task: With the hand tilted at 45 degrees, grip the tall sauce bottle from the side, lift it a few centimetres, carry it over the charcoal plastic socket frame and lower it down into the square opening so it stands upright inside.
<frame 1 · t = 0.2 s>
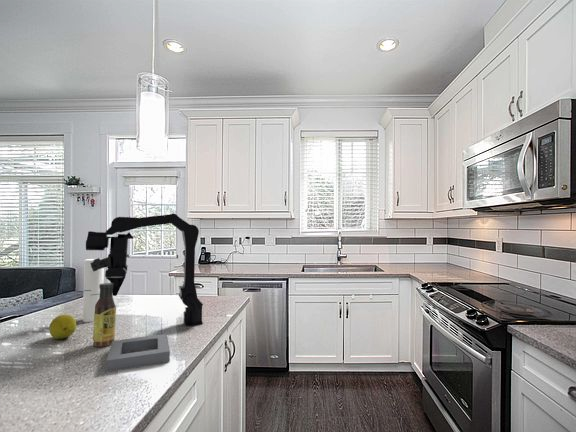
hand: (115, 293, 116), 14 cm above the worktop, tool pointing down, fingers open, 9 cm apart
cylindrical container: (92, 319, 132), on the worktop
socket frame: (139, 355, 95), on the worktop
lemon: (62, 339, 110), on the worktop
sauce bottle: (104, 344, 104), on the worktop
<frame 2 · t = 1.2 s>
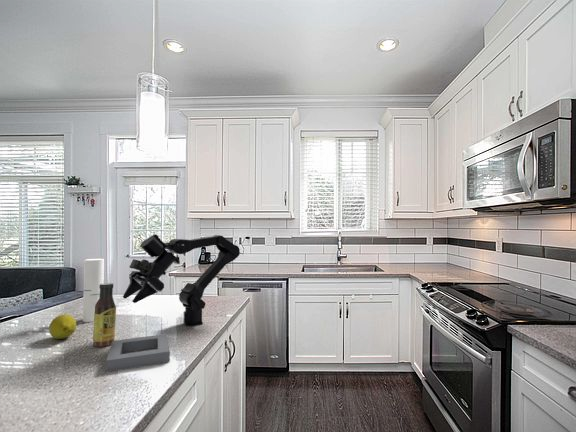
hand: (128, 300, 110), 13 cm above the worktop, tool tilted 45°, fingers open, 9 cm apart
nothing on the worktop moved.
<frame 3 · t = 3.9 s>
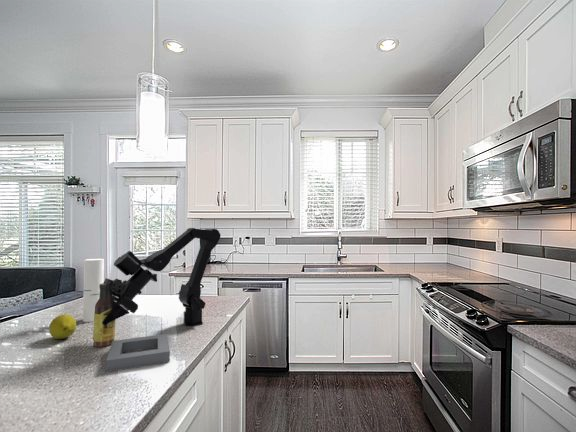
hand: (100, 322, 103), 8 cm above the worktop, tool tilted 45°, fingers closed on sauce bottle, 6 cm apart
sauce bottle: (104, 344, 104), on the worktop, touching gripper
everything else where it was.
when the fingers open (9 cm above the worktop, at t = 9.1 s): sauce bottle stays where it is, resting in socket frame.
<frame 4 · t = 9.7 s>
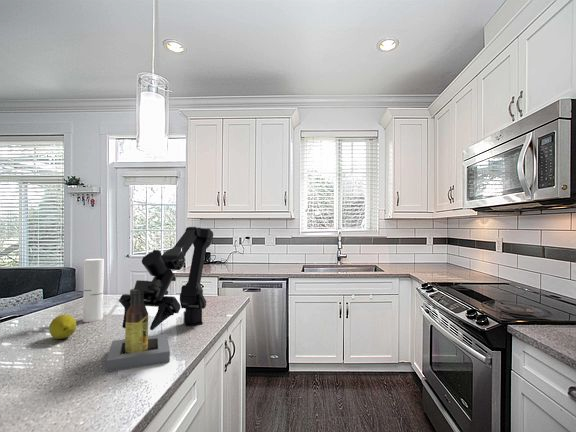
hand: (137, 328, 94), 9 cm above the worktop, tool tilted 45°, fingers open, 9 cm apart
sauce bottle: (136, 355, 95), resting in socket frame
everything else where it was.
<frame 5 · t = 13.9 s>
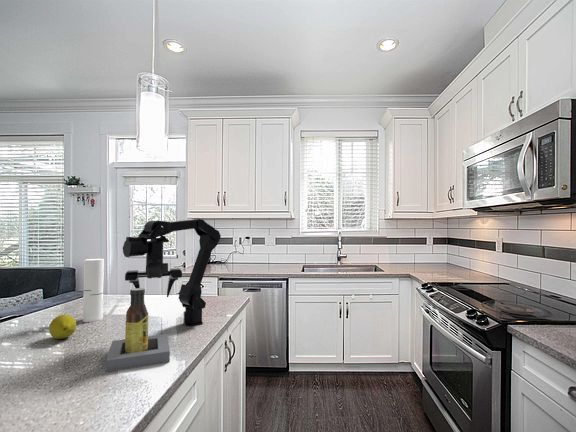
hand: (153, 298, 114), 13 cm above the worktop, tool pointing down, fingers open, 9 cm apart
nothing on the worktop moved.
at the end: sauce bottle 1.3 cm off-centre on the socket frame, point 0.0 cm above the socket frame's base; sauce bottle tilted 0°; the gripper is holding nothing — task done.
